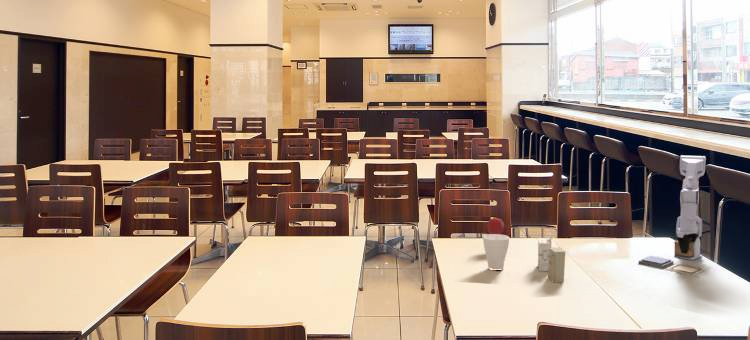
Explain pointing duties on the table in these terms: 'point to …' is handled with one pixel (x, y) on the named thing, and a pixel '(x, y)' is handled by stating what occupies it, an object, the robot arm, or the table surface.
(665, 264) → the ink pad
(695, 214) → the robot arm
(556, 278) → the skincare box
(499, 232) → the lollipop
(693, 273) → the marked card
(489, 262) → the cup
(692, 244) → the brown rectangular block
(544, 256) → the gray blocky tower
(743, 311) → the table surface
